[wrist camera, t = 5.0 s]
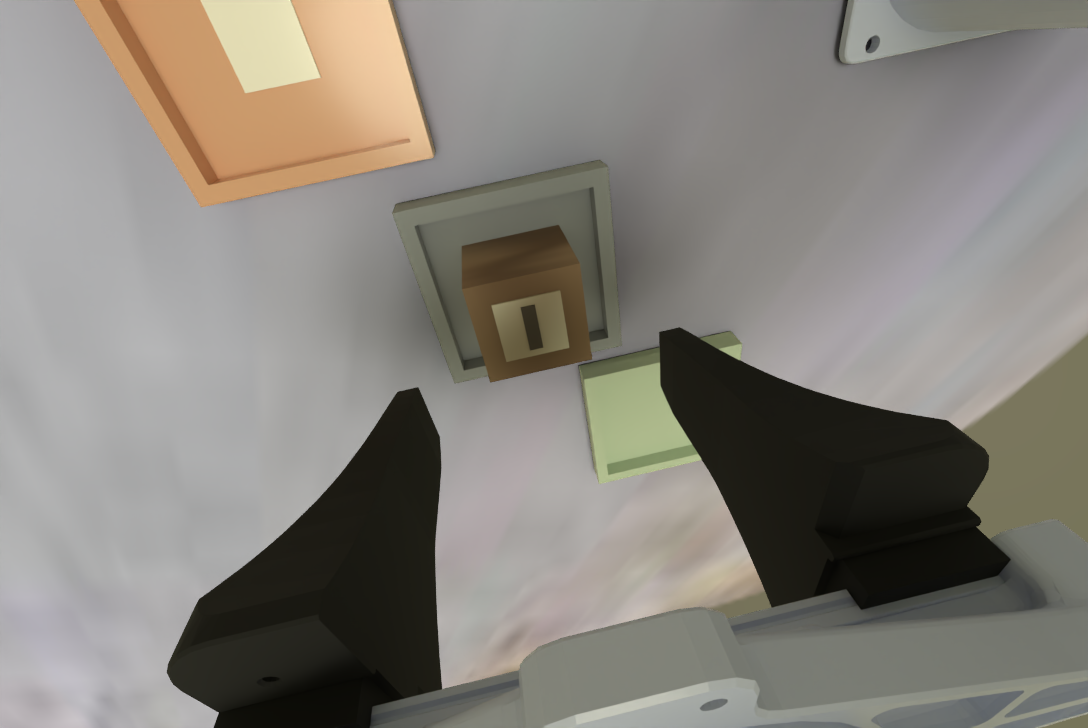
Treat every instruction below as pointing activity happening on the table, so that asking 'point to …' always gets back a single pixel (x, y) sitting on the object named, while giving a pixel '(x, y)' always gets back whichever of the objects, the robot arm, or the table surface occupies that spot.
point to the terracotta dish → (267, 88)
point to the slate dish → (503, 211)
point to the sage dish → (636, 413)
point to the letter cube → (526, 302)
